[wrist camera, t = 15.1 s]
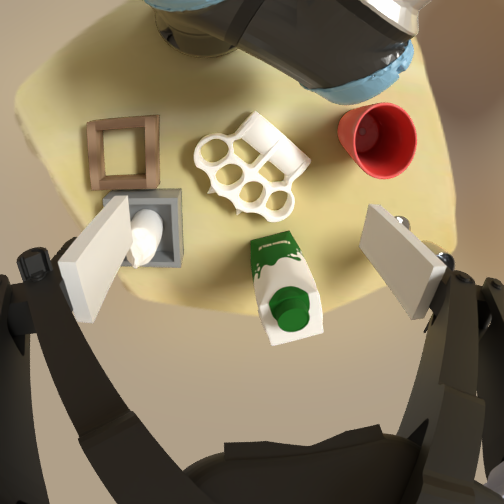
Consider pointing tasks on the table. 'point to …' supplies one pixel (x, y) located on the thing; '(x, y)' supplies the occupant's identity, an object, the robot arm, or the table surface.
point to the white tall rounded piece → (144, 237)
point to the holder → (97, 154)
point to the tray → (171, 214)
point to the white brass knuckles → (256, 166)
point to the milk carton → (284, 289)
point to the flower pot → (379, 139)
